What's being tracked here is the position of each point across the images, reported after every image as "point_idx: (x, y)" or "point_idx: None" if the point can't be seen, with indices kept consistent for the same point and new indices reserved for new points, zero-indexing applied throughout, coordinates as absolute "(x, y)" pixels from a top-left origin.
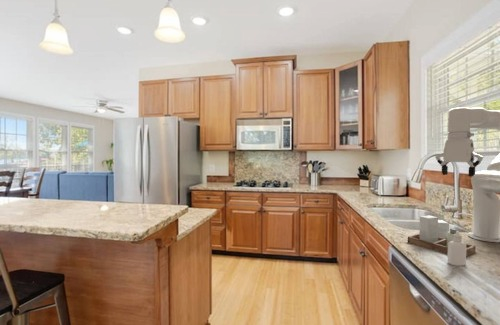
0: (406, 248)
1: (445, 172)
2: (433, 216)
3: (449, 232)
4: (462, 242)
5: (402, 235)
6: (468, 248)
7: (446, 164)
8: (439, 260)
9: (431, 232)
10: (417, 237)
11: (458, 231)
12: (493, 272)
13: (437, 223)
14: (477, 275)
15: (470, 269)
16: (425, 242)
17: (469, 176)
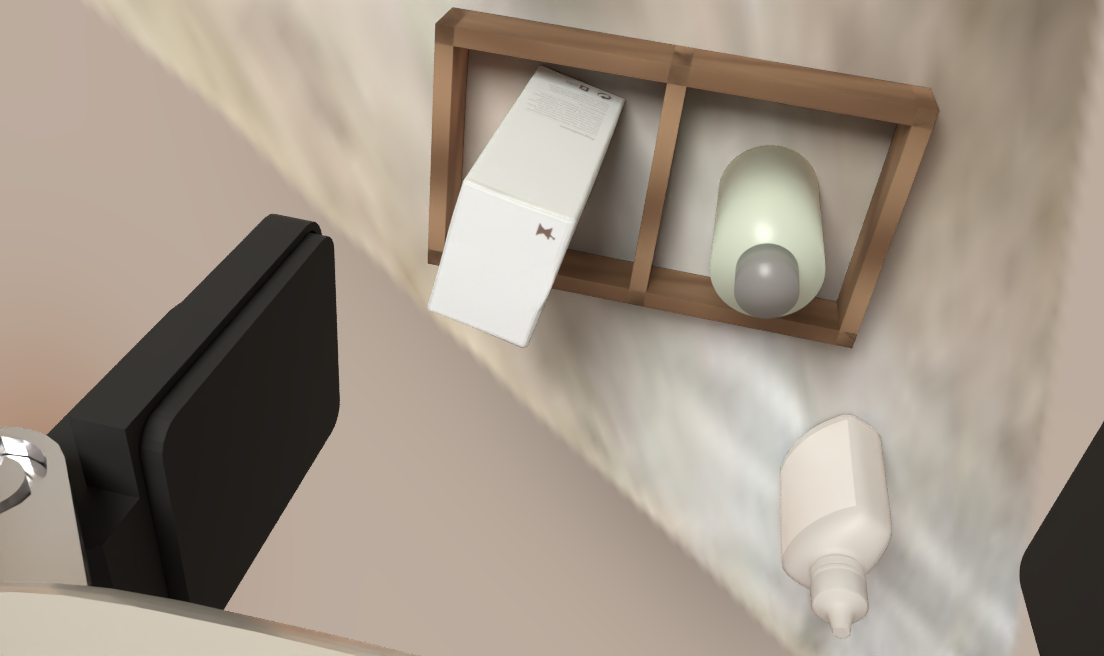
0: (505, 378)
1: (307, 404)
2: (526, 218)
3: (730, 268)
4: (870, 564)
5: (311, 66)
6: (886, 236)
7: (82, 541)
8: (733, 453)
9: (575, 228)
10: (456, 128)
11: (848, 634)
12: (1030, 446)
13: (587, 195)
14: (942, 537)
15: (906, 480)
16: (577, 287)
17: (1041, 558)
